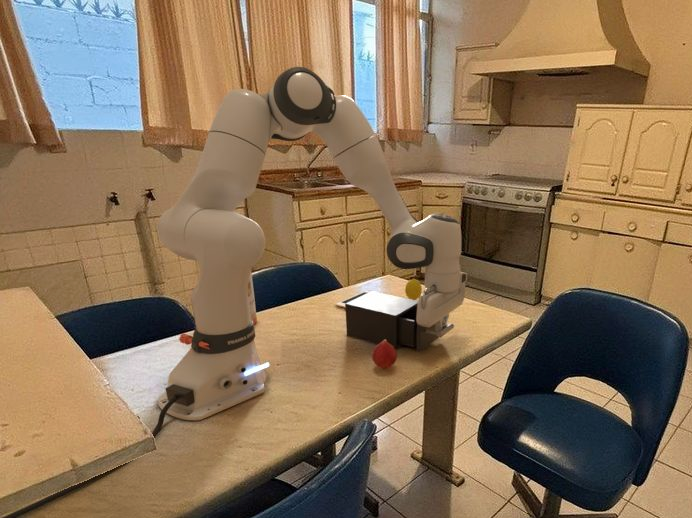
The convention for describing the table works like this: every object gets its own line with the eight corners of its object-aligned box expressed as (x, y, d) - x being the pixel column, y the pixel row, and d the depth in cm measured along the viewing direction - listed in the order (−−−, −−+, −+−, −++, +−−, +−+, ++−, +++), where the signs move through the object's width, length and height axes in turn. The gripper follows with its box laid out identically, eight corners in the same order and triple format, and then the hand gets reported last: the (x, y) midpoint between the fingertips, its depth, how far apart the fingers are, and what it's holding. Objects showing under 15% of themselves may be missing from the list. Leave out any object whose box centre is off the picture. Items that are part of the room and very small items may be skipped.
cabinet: (420, 332, 131) (420, 301, 127) (396, 349, 120) (395, 315, 117) (372, 320, 138) (372, 291, 135) (346, 335, 128) (345, 303, 125)
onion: (368, 372, 109) (367, 341, 106) (380, 361, 114) (379, 332, 111) (389, 377, 107) (389, 346, 104) (401, 366, 111) (400, 337, 108)
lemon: (424, 301, 155) (425, 278, 152) (413, 305, 151) (413, 282, 148) (413, 297, 159) (413, 275, 156) (401, 300, 155) (401, 278, 152)
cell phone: (335, 305, 150) (335, 303, 149) (366, 292, 162) (366, 290, 162) (353, 310, 146) (353, 308, 145) (383, 296, 158) (383, 294, 158)
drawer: (456, 340, 124) (458, 313, 121) (437, 356, 115) (438, 328, 112) (394, 324, 134) (394, 299, 131) (371, 338, 124) (370, 311, 122)
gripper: (433, 294, 104) (432, 348, 109) (470, 272, 121) (467, 320, 126) (410, 289, 107) (409, 342, 112) (448, 268, 124) (447, 315, 129)
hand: (440, 330), depth 119 cm, fingers closed
